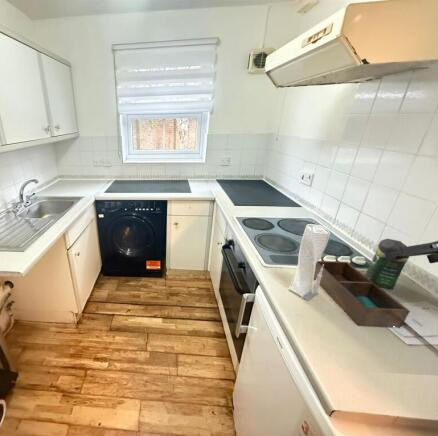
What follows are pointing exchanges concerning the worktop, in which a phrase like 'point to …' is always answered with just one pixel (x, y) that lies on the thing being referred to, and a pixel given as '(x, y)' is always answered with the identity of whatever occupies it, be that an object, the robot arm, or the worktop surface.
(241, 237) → the worktop surface
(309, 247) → the skyscraper
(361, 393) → the worktop surface
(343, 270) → the organiser
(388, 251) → the coffee jar
